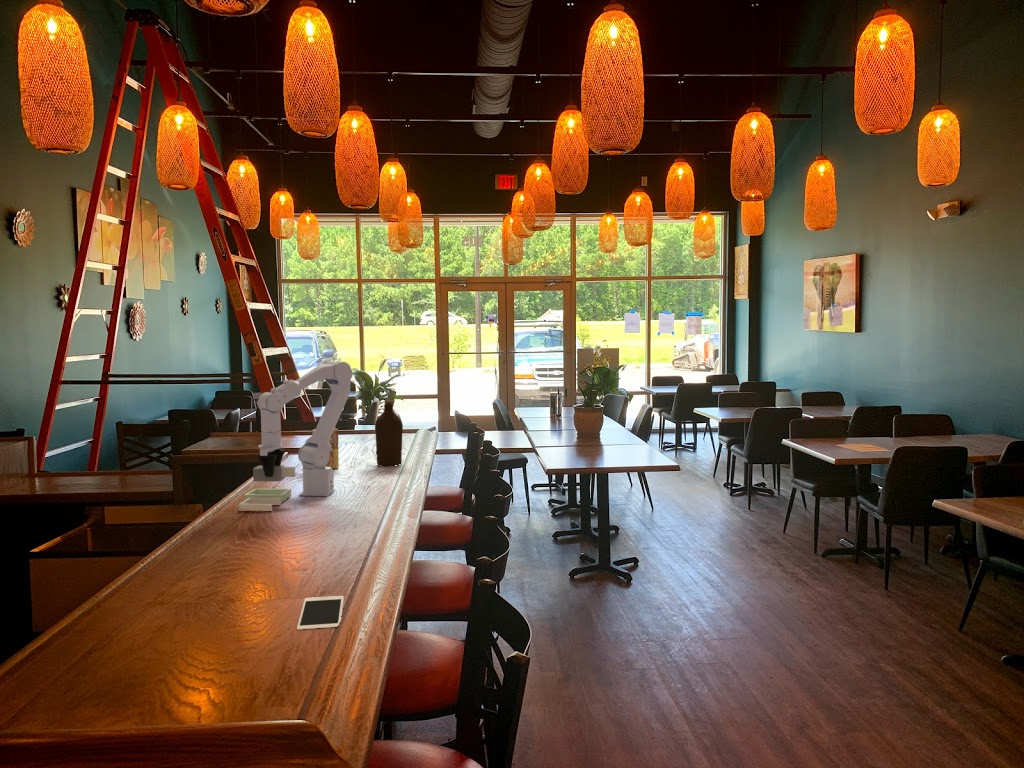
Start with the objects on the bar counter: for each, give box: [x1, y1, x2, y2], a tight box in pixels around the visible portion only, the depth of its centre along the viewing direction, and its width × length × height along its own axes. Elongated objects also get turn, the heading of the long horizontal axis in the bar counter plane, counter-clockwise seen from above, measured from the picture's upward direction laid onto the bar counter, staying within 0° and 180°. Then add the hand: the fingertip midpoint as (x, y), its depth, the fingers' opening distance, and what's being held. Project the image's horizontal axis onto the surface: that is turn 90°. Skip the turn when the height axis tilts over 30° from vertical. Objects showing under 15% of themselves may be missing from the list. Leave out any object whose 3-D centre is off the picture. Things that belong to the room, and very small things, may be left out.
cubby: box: [237, 498, 282, 512], centre depth 229 cm, size 10×8×2 cm
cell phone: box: [296, 595, 345, 631], centre depth 149 cm, size 8×16×1 cm, turn 10°
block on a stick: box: [252, 465, 296, 482], centre depth 237 cm, size 12×5×4 cm, turn 88°
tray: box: [243, 488, 292, 503], centre depth 240 cm, size 12×9×2 cm
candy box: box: [311, 427, 340, 469], centre depth 288 cm, size 9×4×15 cm, turn 129°
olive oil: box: [374, 400, 404, 467], centre depth 297 cm, size 11×11×25 cm
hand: (272, 474), depth 238 cm, fingers closed on block on a stick, 5 cm apart
